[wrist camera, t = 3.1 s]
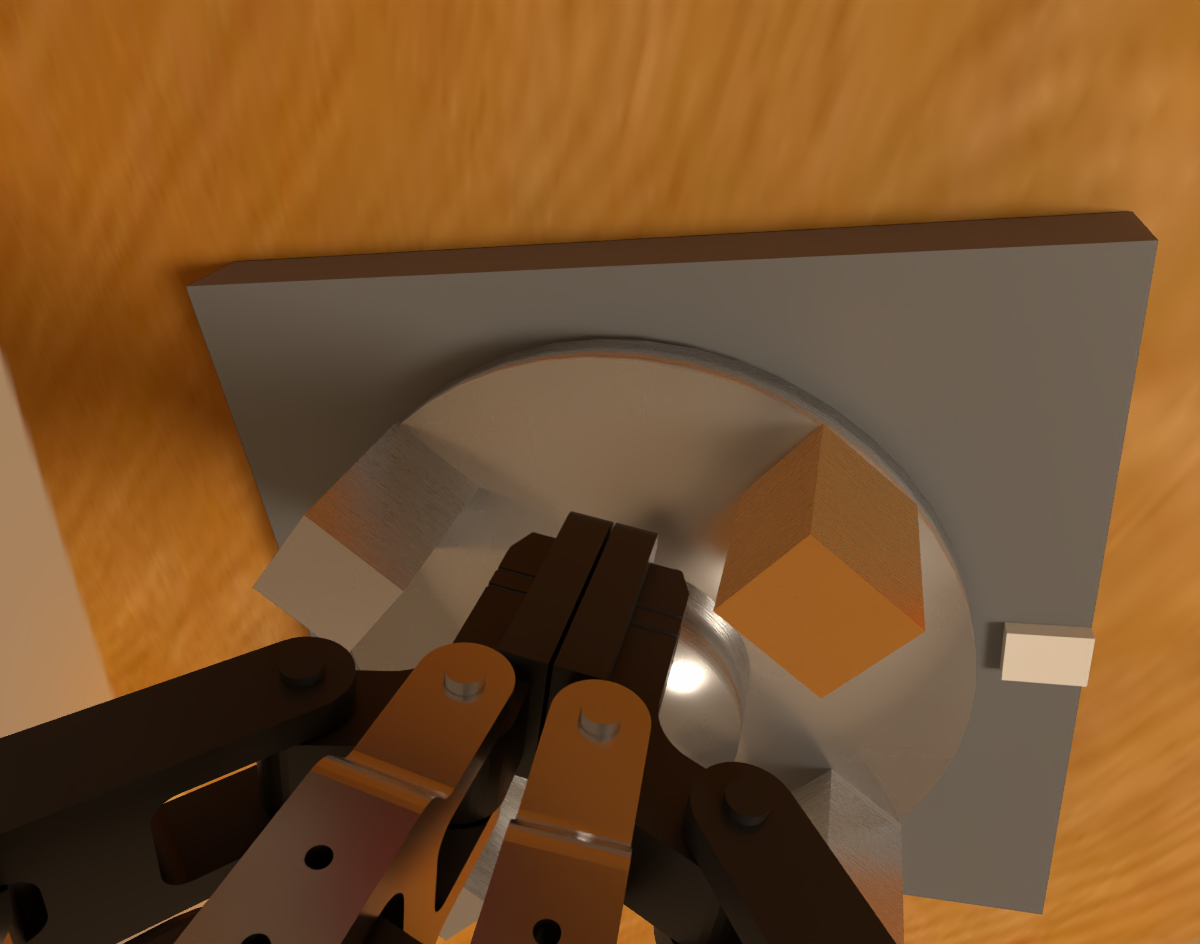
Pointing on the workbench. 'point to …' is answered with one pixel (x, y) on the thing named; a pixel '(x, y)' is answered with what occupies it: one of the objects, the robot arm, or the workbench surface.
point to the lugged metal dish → (686, 543)
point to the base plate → (821, 368)
